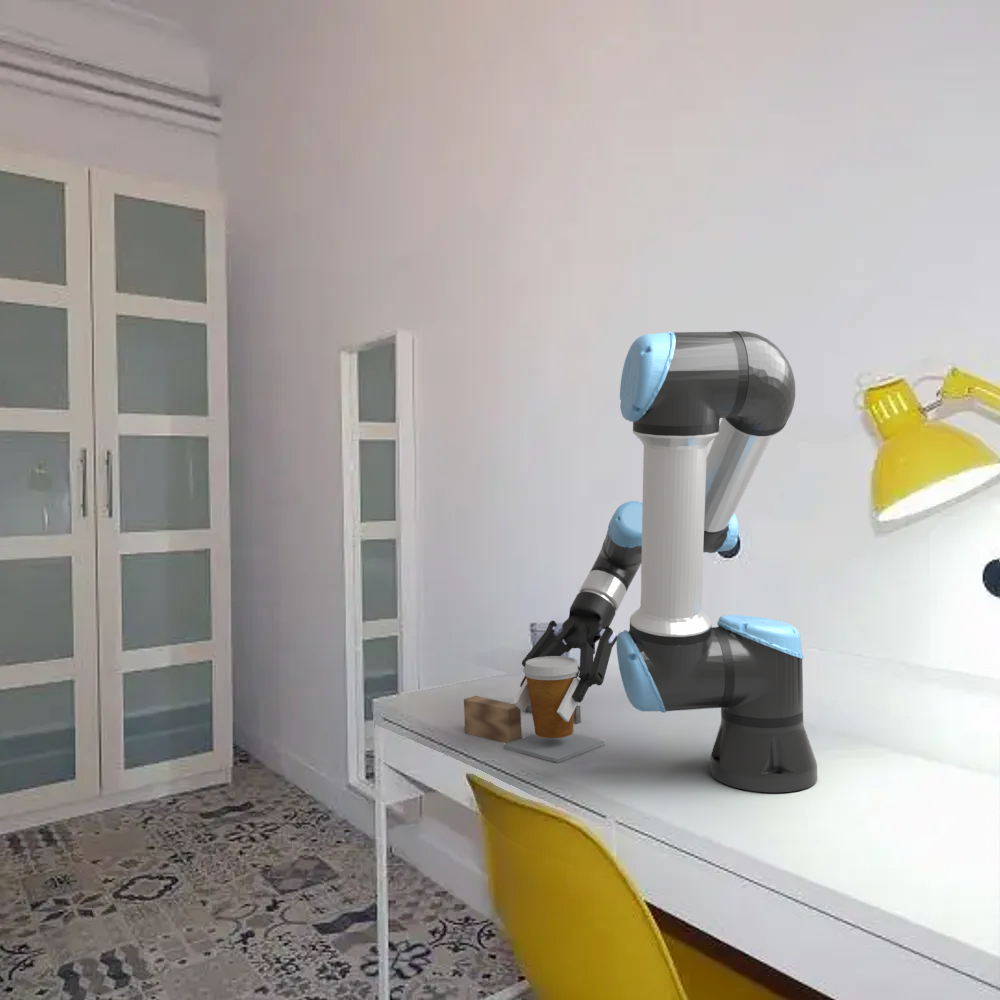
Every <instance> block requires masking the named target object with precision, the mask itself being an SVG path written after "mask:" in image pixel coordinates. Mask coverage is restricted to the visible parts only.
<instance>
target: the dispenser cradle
mask: <svg viewBox="0 0 1000 1000" xmlns="http://www.w3.org/2000/svg"><path fill="white" fill-rule="evenodd" d="M522 712H523V713H529V714H532V709H531V703H530V702H529V704H528V706H527V708H526V710H525V712H524V711H521V710H520V709H519V708H518V707H517V706H516V705H515V704H514V703H510V702H505V701H500V700H497V699H493V698H488V697H484V696H479V695H474V696H470V697H467V698H463V713H464V714H463V715H464V719H463V720H464V733H465V734H468V735H473V736H476V737H479V738H483V739H488V740H491V741H494V742H499V743H502V744H506V743H509V742H512V741H515V740H518V739H521V738H523V737H522V715H521V713H522ZM581 716H582V715H581V705H578V704H577V706H576V708H575V713H574V724H577V725H578V724H580V723H582V722H581V721H582V720H581V719H582V717H581Z"/></svg>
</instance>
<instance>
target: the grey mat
mask: <svg viewBox="0 0 1000 1000" xmlns="http://www.w3.org/2000/svg"><path fill="white" fill-rule="evenodd" d="M605 744H606V742H605V740H602V739H599V738H595V737H590V736H585V735H582V734H577V733H574V732H573V733H572V734H571V735H569V736H567V737H562V738H544V737H540V736H538V735H536V734H535V733H532V734H529V735H526V736H524V737H522V738H521V739H518V740H515V741H512V742H509V743H506V744H505V743H503V745H502V746H503V747H502V748H503V749H505V750H509V751H513V752H516V753H520V754H522V755H523V754H524V755H527V756H531V757H535V758H537V759H542V760H545V761H548V762H552V763H556V764H559V763H562V762H564V761H567V760H570V759H572V758H575V757H577V756H580V755H582V754H585V753H587V752H589V751H592V750H595V749H597V748H600V747H602V746H605Z"/></svg>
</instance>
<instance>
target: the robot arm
mask: <svg viewBox="0 0 1000 1000" xmlns="http://www.w3.org/2000/svg"><path fill="white" fill-rule="evenodd" d="M629 347H630V348H629V349H628V351H627V354H626V356H625V360H624V362H623V363H624V364H623V367H622V371H621V378H620V384H619V385H620V387H619V400H620V411H621V412H620V413H621V415H622V417H623V418H624V420H626V421H628V422H630V423H631V422H632V433H633V434H634V435H635V436H636V438H638V439H639V440H640V442H641V443H642V445H643V459H642V460H643V462H642V463H643V465H642V466H643V467H642V468H643V469H642V502H641V501H639V500H629V501H626V502H624V503H622V504H621V505H619V506H618V507H617V508H616V510H615V511H614V513H613V515H612V517H611V519H610V521H609V523H608V527H607V531H606V535H605V538H604V540H603V543H602V546H601V548H600V551H599V553H598V555H597V557H596V560H595V561H594V564H593V565H592V567H591V569H590V571H589V572H588V574H587V576H586V577H585V580H584V581H583V583H582V585H581V586H580V587H579V588H580V589H579V590H578V594H576V596H575V598H574V600H573V602H572V603H571V605H570V606H569V607H570V608H569V614H568V618H567V619H566V620H565V621H564V622H563V623H557V622H556V621H555V620H551V621H549V623H548V625H547V628H546V629H545V631H544V633H542V635H541V637H540V638H539V639H538V641H536V643H535V645H534V646H533V647H532V648H531V649H530V651H529V652H528V654H526V656H525V657H524V658H523V660H522V661H521V665H522V667H524V668H525V664H526V661H527V660H529V659H532V658H537V657H545V656H563V655H564V653H568V652H570V651H571V650H572V649H579V651H580V653H579V654H580V655H579V667H580V671H579V674H577V675H578V676H577V678H574V679H573V681H572V683H571V685H570V687H569V689H568V691H567V693H566V695H565V697H564V699H563V701H562V703H561V704H560V706H559V708H558V710H557V713H558V714H559V715H560V716H561V717H562V718H563V719H564V720H565V721H568V722H569V720H570V718H571V716H572V714H573V712H574V710H575V708H576V706H577V705H578V703H581V702H583V700H584V698H585V695H586V694H587V692H588V690H589V689H590V687H592V686H594V685H596V686H602V685H603V684H604V680H605V676H606V672H607V669H608V666H609V661H610V658H611V654H612V650H613V646H614V645H616V655H617V663H618V668H619V673H620V678H621V681H622V685H623V688H624V691H625V694H626V698H627V699H628V701H629V703H630V705H631V706H632V707H633V708H634V709H636V710H637V711H639V712H661V713H664V714H665V713H666V712H675V711H678V712H679V711H691V710H705V709H706V710H707V709H709V710H710V709H720V724H719V727H718V731H717V735H716V737H715V739H714V740H715V741H714V744H713V748H712V750H711V754H710V758H709V759H710V760H709V763H710V764H709V765H710V775H711V776H712V777H713V778H714V779H715V780H717V781H718V782H720V783H722V784H724V785H727V786H729V787H732V788H736V789H739V790H744V791H750V792H758V793H789V792H790V793H791V792H797V791H801V790H806V789H808V788H810V787H812V786H813V785H815V784H816V783H817V781H818V763H817V759H816V757H815V754H814V751H813V749H812V745H811V743H810V739H809V737H808V735H807V734H808V733H807V732H806V727H805V725H804V693H803V692H804V689H803V687H804V686H803V685H804V683H803V681H804V680H803V659H804V655H803V648H802V639H801V634H800V632H799V630H798V628H796V627H795V626H794V625H793V624H790V623H789V622H785V621H781V620H777V619H773V618H772V619H771V618H766V617H760V616H759V617H758V616H752V615H743V614H742V615H741V614H728V615H727V614H726V615H721V616H719V618H718V621H717V623H716V624H717V626H716V627H715V626H714V627H713V626H712V620H711V618H710V617H709V616H708V615H707V614H706V613H705V612H704V611H703V610H702V597H703V595H702V593H703V571H704V570H703V569H704V566H703V565H704V553H709V554H714V553H717V552H726V551H731V550H732V549H734V548H735V547H736V545H737V542H738V536H739V533H740V532H739V531H740V529H739V521H738V517H737V515H736V513H735V512H736V510H737V508H738V507H739V504H740V501H742V498H743V496H744V494H745V492H746V490H747V488H748V486H749V483H750V482H751V479H752V477H753V475H754V473H755V471H756V470H757V467H758V465H759V463H760V462H761V459H762V457H763V455H764V453H765V451H766V449H767V447H768V445H769V443H770V440H771V439H772V437H773V436H776V435H777V434H779V433H780V432H781V431H783V429H784V428H785V426H786V425H787V423H788V421H789V419H790V417H791V415H792V412H793V408H794V406H795V401H796V380H795V375H794V373H793V369H792V367H791V364H790V362H789V360H788V359H787V357H786V356H785V354H784V353H783V351H782V350H781V349H780V348H779V347H778V346H777V345H776V344H775V343H773V342H772V341H771V340H770V339H768V338H766V337H765V336H762V335H760V334H759V333H758V334H757V333H755V332H752V331H745V330H733V331H690V332H689V331H686V332H685V331H684V332H683V331H682V332H681V331H679V332H675V331H674V332H673V331H666V332H657V333H656V332H655V333H647V334H643V335H641V336H639V337H637V338H636V339H635V340H634V341H633V342H632V343H631V345H630V346H629ZM720 420H721V422H720ZM710 442H712V444H711V446H710V449H709V451H708V445H709V444H710ZM707 451H708V452H707ZM640 567H641V568H640ZM639 568H640V569H641V570H640V573H641V576H640V606H639V608H638V609H636V610H635V611H634V612H633V613H631V615H630V617H629V629H628V630H626V629H625V630H623V631H620V632H619V633H618V634H617V635H616V633H615V632H614V630H613V629H612V628H611V627H610V626H611V624H612V622H613V620H614V618H615V616H616V612H617V611H618V610H619V608H620V605H621V603H622V602H623V600H624V598H625V596H626V594H627V592H628V589H629V587H630V585H631V583H632V582H633V579H634V578H635V576H636V574H637V572H638V571H639ZM597 642H598V644H597V647H596V643H597ZM519 686H520V689H519V690H518V693H517V694H516V696H515V698H514V700H513V702H512V704H515V705H516V706H517V707H518V708H519V709H520V710H521V712H523V711H524V712H523V713H526V712H525V710H526V708H527V706H528V704H529V702H530V697H529V690H528V684H527V678H526V676H525V675H524V676H523V678H522V681H521V682H520V685H519Z"/></svg>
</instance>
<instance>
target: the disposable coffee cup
mask: <svg viewBox="0 0 1000 1000" xmlns="http://www.w3.org/2000/svg"><path fill="white" fill-rule="evenodd" d="M522 672H523V673H524V677H525V676H526V678H527V684H528V690H529V697H530V703H531V709H532V713H531V714H532V719H533V725H534V731H535V732H534V734H536V735H538V736H540V737H544V738H562V737H567V736H569V735H571V734H572V733H574V726H575V723H574V713H575V710H574V712H573V714H572V716H571V718H570V720H569V722H568V721H565V720H564V719H563V718H562V717H561V716H560V715H559V714H558V713H557V710H558V708H559V706H560V704H561V703H562V701H563V699H564V697H565V695H566V693H567V691H568V689H569V687H570V685H571V683H572V681H573V679H574V678H578V675H579V673H580V665H579V664H578V661H577V659H576V658H574V657H570V656H563V655H561V656H545V657H537V658H532V659H529V660H527V661H526V664H525V667H524V668H523V669H522ZM577 674H578V675H577Z"/></svg>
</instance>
